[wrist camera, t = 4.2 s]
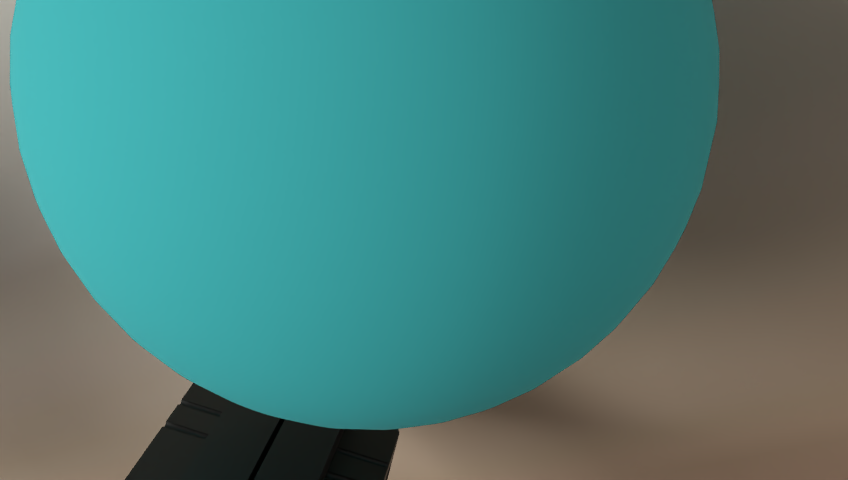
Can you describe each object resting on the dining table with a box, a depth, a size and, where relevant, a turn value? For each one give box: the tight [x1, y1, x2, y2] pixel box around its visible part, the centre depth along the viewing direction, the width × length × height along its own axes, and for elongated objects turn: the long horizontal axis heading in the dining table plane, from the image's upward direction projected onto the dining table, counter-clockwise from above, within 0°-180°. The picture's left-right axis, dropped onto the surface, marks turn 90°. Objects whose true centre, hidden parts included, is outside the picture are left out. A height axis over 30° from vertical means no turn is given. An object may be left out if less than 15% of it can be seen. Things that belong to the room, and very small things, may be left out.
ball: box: [10, 0, 719, 430], centre depth 7 cm, size 6×6×6 cm
